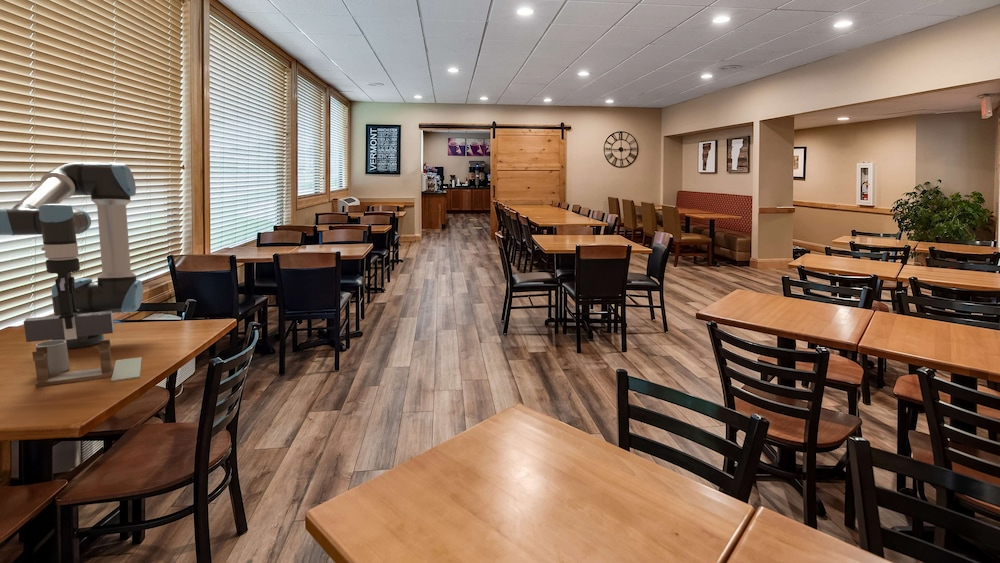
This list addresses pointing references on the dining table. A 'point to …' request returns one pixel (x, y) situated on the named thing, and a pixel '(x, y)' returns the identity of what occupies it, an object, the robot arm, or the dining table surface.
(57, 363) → the cup
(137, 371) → the mat
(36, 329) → the rail
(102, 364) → the stand
